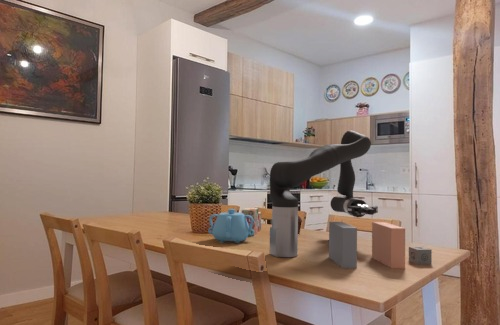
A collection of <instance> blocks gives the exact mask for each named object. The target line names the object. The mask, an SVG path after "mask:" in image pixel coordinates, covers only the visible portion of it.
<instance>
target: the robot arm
mask: <svg viewBox="0 0 500 325" xmlns="http://www.w3.org/2000/svg"><path fill="white" fill-rule="evenodd" d="M371 146H372V141H371V139H370V138H369V137H368V136H367V135H366V134H362V133H359V132H357V131H354V130H352V129H351V130H349V129H348V130H347V131H346V132H344V134H343V135H342V136H341V140H340V144H335V143H334V144H332V143H331V144H326V145H323V146H321V147H318V148H316V149H314V150H313V151H312V152H311V153H310V154H309V156H308V157H306V158H303V159H300V160H296V161H278V162H275V163H274V164H273V165H272V166H271V169H270V172H269V194H270V195H269V196H270V199H271V204H272V207H271V208H272V211H271V212H272V214H271V220H272V221H271V226H270V227H269V255H272V256H274V257H276V258H280V257H281V258H294V257H297V256H298V253H299V252H298V250H299V248H298V242H299V240H298V238H299V236H298V216H299V199H298V198H297V197H296V196H294V195H293V194H292V192H291V188H296V187H299V186H300V185H302V184H304V183H305V182H307V181H308V180H310V179H311V178H313V177H314V176H317V175H319V174H321V173H323V172H325V171H328V170H330V169H333V168H335V167H337V166H338V165H340V170H339V178H338V183H337V188H336V190H337V193H338V194H340V195H337V196H333V197H332V198H331V200H330V207H331V210H332V211H334V212H336V213H345V214H348V215H349V216H352V217H354V218H362V217H364V216H366V215H369V216H372V215H373V216H374V214H378V212H379V206H377V205H375V206H371V205H368V204H367V203H366V202H365V200H363V199H359V198H356V197H354V188H355V184H356V183H355V182H356V174H355V170H354V167H353V163H352V160H354V159H357V158H360V157H362V156H364V155H366V154H367V153H368V151H369V150H370V148H371Z"/></svg>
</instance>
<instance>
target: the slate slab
mask: <svg viewBox="0 0 500 325" xmlns="http://www.w3.org/2000/svg"><path fill="white" fill-rule="evenodd" d="M328 226H329V227H328V229H329V230H328V259H330V260H332V261H333V262H334V263H336V265H337V266H339V267H341V269H357V266H358V227H355V226H353V225H351V224H348V223H346V222H343V221H329V222H328Z"/></svg>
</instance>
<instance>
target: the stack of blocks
mask: <svg viewBox="0 0 500 325" xmlns="http://www.w3.org/2000/svg"><path fill="white" fill-rule="evenodd" d="M241 213H243V214H244V215H250V216H251V217H252V218H253V220H254V222H253V226H252V228H251V229H253V230H254V235H251V236H250V235H248V237H255V236H256V235H257V234H258V233H259V232H260V231H261V230H262V211H259V207H244V208H242V209H241ZM246 220H247V222H248V226H249V227H250V224H251V219H250V218H249V217H246ZM250 233H252V231H250Z"/></svg>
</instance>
